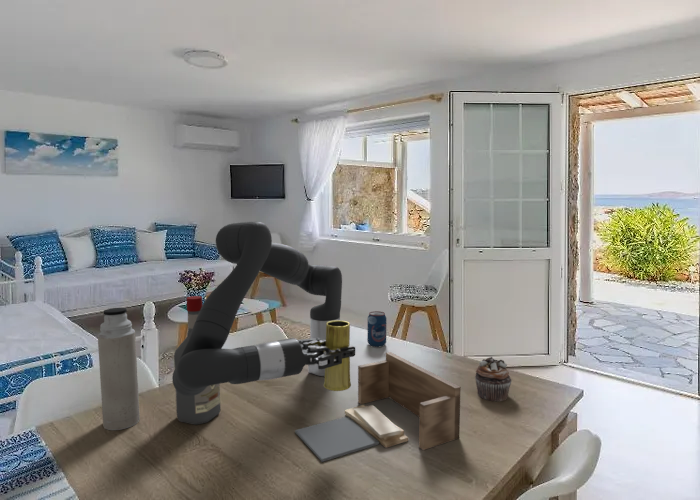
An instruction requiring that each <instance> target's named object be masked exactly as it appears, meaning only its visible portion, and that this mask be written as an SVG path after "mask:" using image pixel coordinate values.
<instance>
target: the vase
mask: <svg viewBox="0 0 700 500" xmlns="http://www.w3.org/2000/svg"><path fill="white" fill-rule="evenodd" d="M350 328H351V325H350V322H349V321H346V320H341V319H340V320H336V321H329V322H327V323H326V346H328V347H329V348H342V347H348V346H351V345H350V341H351V340H350V339H351V337H350V335H351V333H350V332H351V329H350ZM330 353H333V352H330ZM325 354H326V351H325ZM351 386H352V384H351V357H348V358H343V359H342V364H339V365H335V366H332V367H328V368H325V376H324V382H323V387H324V388H325V389H326V390H328V391H333V392H343V391H346V390H349V389H350V388H351Z"/></svg>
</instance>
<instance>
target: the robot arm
mask: <svg viewBox="0 0 700 500" xmlns="http://www.w3.org/2000/svg"><path fill="white" fill-rule="evenodd" d="M215 246H216V250H217V252H218V253H219V255H220V256H221V258H222V259H223V260H225V261H227V262H228V263H231V264H234V265H235V267H234V268H233V269H232V271H231V272H230V273H229V274H228V275H227V277H225V279H223V280H222V282H221V283H219V284H218V285H217V286H216V287H215V288H214V289H213V291H212V292H210V294H209V295H208V296H207V298H206V299H205V300H204V302H203V303H202V305H203V306H202V307H201V310H200V312H199V314H198V317H197V319H196V321H195V324H194V326H193V329H192V332H191V336H190V339H189V341H188V343H187V345H186V347H185V349H184V351H183V353H182V355H181V357H180V359H179V361H178V363H177V365H176V367H174V369H173V372H172V378H171V381H172V384H173V385H172V386H173V387H174V389H175V391H176V390H177V391H178V392H179V393H180V394H182V395H185V396H194V395H197V394H199V393H201V392H202V391H204V390H205V389H206V387H207V386H210V385H215V384H220V385H221V384H226V383H229V384H230V385H240V384H246V383H253V382H256V381H257V382H258V381H266V380H267V381H269V380H274V379H275V380H276V379H279V378H284V377H289V376H290V377H291V376H295V375H299V374H300V373H302V371H303V369H304V368H305V366H308V367H307V369H308V370H307V371H308V373H309V374H313V375H315V376H320V377H325V368H328V367H332V366H335V365H339V364H342V359H343V358H348V357H350V358H352V357H355V356H356V346H354V345H350V346H348V347H342V348H329V347H328V346H326V323H327V322H329V321H336V320H340V321H341V308H342V289H343V275H342V271H341V268H339V267H338V266H334V265H320V264H319V265H318V264H317V265H316V264H310V263H309V261H308V258H307V257H306V255H305V254H304V253H303V252H301V251H300V250H298V249H296V248H294V247H293V246H290V245H286V244H283V243H279V242H273V238H272V233H271V231H270V228H269V227H268V226H267V224H266V223H264V222H261V221H245V222H243V221H242V222H233V223H229V224H227V225H224V226H223V227H221V228H220V229H219V231H217V234H216V237H215ZM260 272H261V273H263V274H266V275H268V276H270V277H273V278H274V279H277V280H279V281H282V282H284V283H287V284H290V285H293V286H294V285H295V286H297V287H299V288H300V289H302V290H303V291H305V292H306V293H308V294H309V295H314V296H320V297H321V296H323V297H325V298H324V299H325V300H324V302H323V303H322V304H319V305H316V306H313V307H311V309H310V310H309V327H310V328H309V330H310V331H309V333H310V336H309V337H310V338H303V339H302V338H301V339H297V338H296V337H292V338H285V339H278V340H271V341H265V342H264V341H263V342H261V343H257V344H254V345H246V346H240V347H235V348H223V347H224V345H225V344H226V342H227V339H228V337H229V335H230V332H231V329H232V327H233V324H234V321H235V319H236V316H237V314H238V312H239V309H240V307H241V305H242V302H243V300H244V299H245V297H246V295H247V293H248V292H249V290H250V289H251V287H252V285H253V283H254V282H255V280H256V278H257V276H258V274H259V273H260ZM325 351H326V354H325ZM330 352H333V353H330Z"/></svg>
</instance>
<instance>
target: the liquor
mask: <svg viewBox="0 0 700 500" xmlns="http://www.w3.org/2000/svg"><path fill="white" fill-rule="evenodd" d="M202 306H203V297H202V296H201V295H190V296H187V297H186V311H187V334H186V337H185V338H184V340H183V341H182V342H181V343H180V344H179V346H178V347H177V348H176V349H175V352H174V354H173V359H174V360H173V363H174V368H175V367H176V365H177V363H178V361H179V359H180V357H181V355H182V353H183V351H184V349H185V347H186V345H187V343H188V341H189V339H190V336H191V332H192V329H193V326H194V324H195V321H196V319H197V317H198V314H199V312H200V310H201V307H202ZM220 386H221V384H215V385H210V386H207V387H206V389H205V390H204V391H202V392H201V393H199V394H197V395H194V396H185V395H182V394H180V393H179V392H178V391H177V390H176V389H175V404H176V405H175V410H176V417H177V418H176V419H177V420H178V422H181V423H185V424H191V425H195V426H196V425H201V424H202V425H203V424H207V423H208V422H210V421H211V420H212V419H214V418H215V417H217V416H218V415H219V414H220V412H221V388H220Z"/></svg>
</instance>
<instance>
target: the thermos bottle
mask: <svg viewBox="0 0 700 500" xmlns="http://www.w3.org/2000/svg"><path fill="white" fill-rule="evenodd" d="M127 312H128V309H127V308H126V307H111V308H107V309H104V310H103V315H104V316H103V319H104V320H103V321H104V322H102V323H101V324H100V329H99V331H100V332H99V333H98V334H97V345H98V347H97V348H98V363H99V364H98V365H99V379H100V394H101V396H100V397H101V411H102V413H101V414H102V426H103V428H104V429H105V430H108V431H119V430H120V431H121V430H125V429H128V428H131V427H133V426H136V424H138V423H139V422H140V418H141V415H140V414H141V413H140V399H139V398H140V397H139V396H140V395H139V382H138V381H139V380H138V360H137V359H138V357H137V340H136V330H135V329H134V328H133V327H132V326H133V323H132V321H131V320H130V319H128V314H127Z"/></svg>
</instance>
